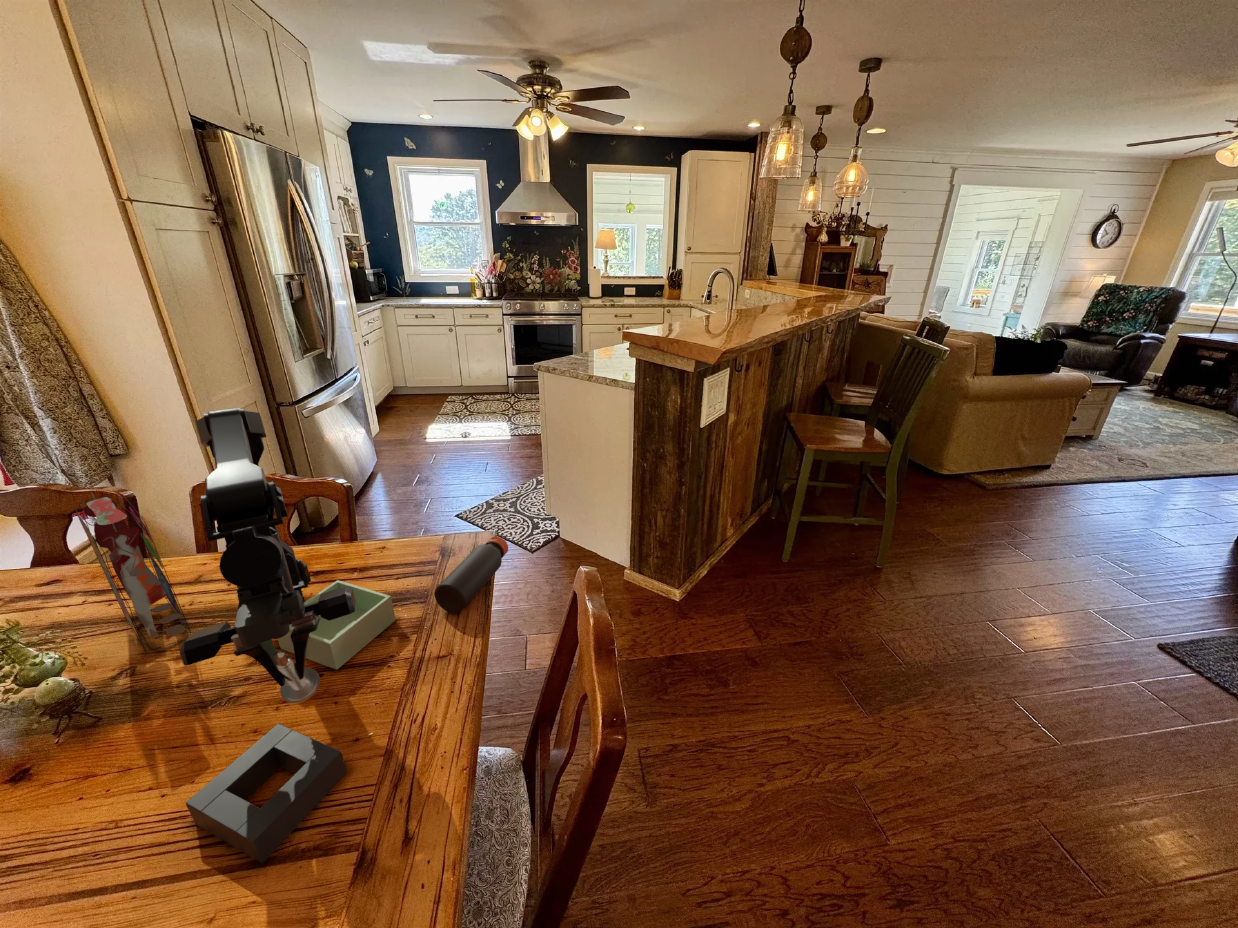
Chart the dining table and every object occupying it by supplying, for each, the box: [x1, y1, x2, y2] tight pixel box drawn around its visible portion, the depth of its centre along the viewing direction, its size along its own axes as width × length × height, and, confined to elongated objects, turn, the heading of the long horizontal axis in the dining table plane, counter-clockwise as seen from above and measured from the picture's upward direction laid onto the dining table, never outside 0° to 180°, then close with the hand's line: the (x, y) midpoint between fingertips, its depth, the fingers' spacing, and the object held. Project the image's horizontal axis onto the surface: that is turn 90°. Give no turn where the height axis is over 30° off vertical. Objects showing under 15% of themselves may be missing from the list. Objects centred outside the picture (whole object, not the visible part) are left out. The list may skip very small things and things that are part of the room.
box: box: [73, 491, 192, 654], centre depth 88 cm, size 25×6×24 cm, turn 53°
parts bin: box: [277, 579, 397, 670], centre depth 89 cm, size 13×13×6 cm
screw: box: [273, 650, 321, 704], centre depth 67 cm, size 13×5×5 cm
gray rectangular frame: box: [185, 723, 348, 865], centre depth 62 cm, size 12×12×4 cm
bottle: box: [434, 535, 509, 614], centre depth 103 cm, size 7×7×20 cm
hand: (292, 681), depth 67 cm, fingers closed on screw, 2 cm apart
